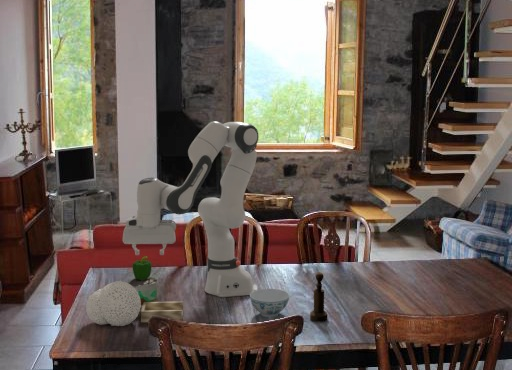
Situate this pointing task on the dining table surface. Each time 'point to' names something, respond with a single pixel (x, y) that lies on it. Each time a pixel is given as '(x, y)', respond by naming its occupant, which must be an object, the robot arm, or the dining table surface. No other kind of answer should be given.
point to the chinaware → (269, 301)
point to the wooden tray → (161, 310)
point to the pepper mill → (318, 301)
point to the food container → (148, 290)
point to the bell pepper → (142, 269)
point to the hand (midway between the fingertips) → (149, 254)
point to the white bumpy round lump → (114, 304)
